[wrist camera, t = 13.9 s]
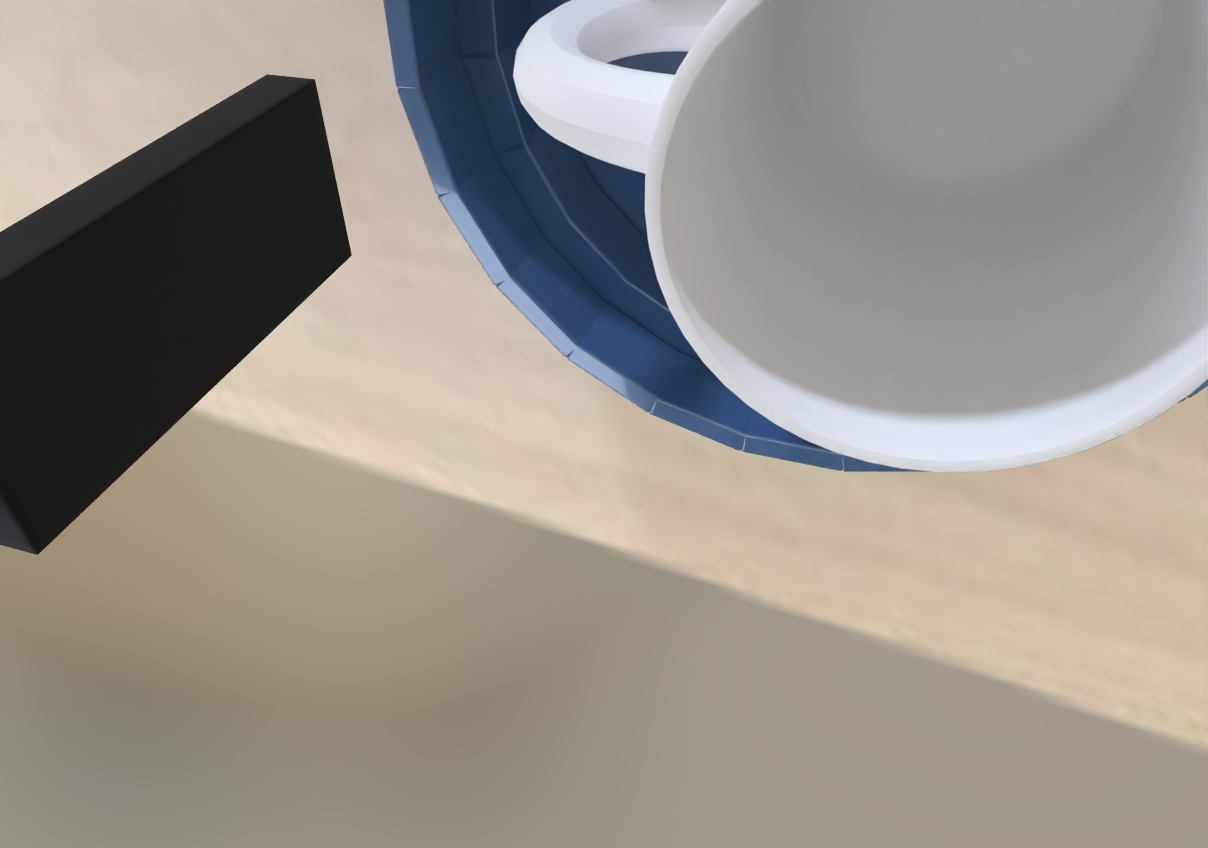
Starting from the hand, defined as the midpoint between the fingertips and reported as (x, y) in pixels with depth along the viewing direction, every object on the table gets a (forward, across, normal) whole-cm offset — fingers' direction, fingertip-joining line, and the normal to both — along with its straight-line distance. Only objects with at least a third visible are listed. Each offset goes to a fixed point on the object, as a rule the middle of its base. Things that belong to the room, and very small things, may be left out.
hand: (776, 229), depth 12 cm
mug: (+12, 0, 0) cm, 12 cm away
